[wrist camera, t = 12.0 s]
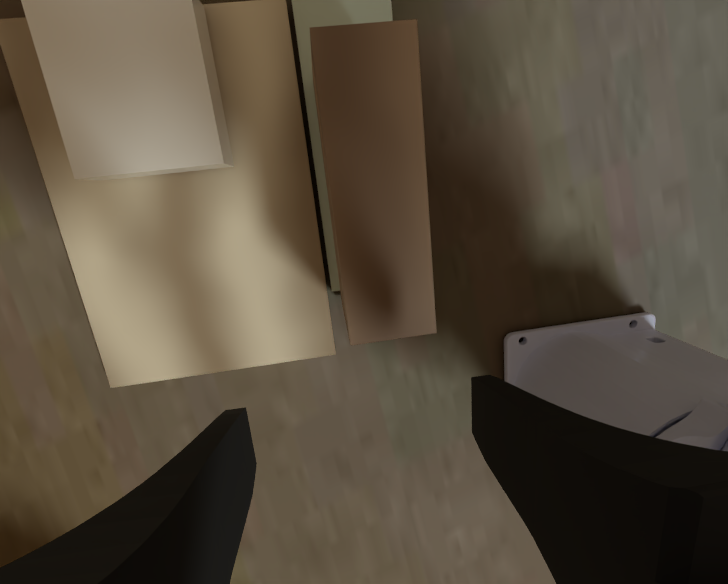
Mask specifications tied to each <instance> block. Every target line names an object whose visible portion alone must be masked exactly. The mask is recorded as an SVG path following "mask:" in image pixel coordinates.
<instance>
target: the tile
mask: <svg viewBox="0 0 728 584" xmlns="http://www.w3.org/2000/svg"><path fill="white" fill-rule="evenodd" d="M21 2H22V6H23V9H24V12H25V16H26V19H27V22H28V26H29V29H30V32H31V36H32V39H33V42H34V46H35V49H36V52H37V56H38V59H39V62H40V66H41V69H42V72H43V76H44V79H45V82H46V86H47V89H48V92H49V96H50V99H51V102H52V106H53V109H54V112H55V116H56V119H57V122H58V126H59V129H60V132H61V136H62V139H63V142H64V146H65V149H66V152H67V156H68V159H69V162H70V166H71V169H72V172H73V176H74V179H80V180H99V181H103V180H112V179H122V178H131V177H141V176H150V175H160V174H169V173H179V172H188V171H198V170H207V169H217V168H226V167H234V163H233V157H232V152H231V147H230V142H229V136H228V131H227V126H226V121H225V115H224V110H223V105H222V100H221V94H220V89H219V84H218V78H217V73H216V68H215V63H214V57H213V52H212V47H211V42H210V36H209V31H208V26H207V21H206V15H205V10H204V6H203V5H202V3H201V2H200V0H21Z"/></svg>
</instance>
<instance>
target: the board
mask: <svg viewBox="0 0 728 584" xmlns="http://www.w3.org/2000/svg"><path fill="white" fill-rule="evenodd" d="M202 5H203V6H204V10H205V15H206V21H207V26H208V31H209V36H210V42H211V47H212V52H213V57H214V63H215V68H216V73H217V78H218V84H219V89H220V94H221V100H222V105H223V110H224V115H225V121H226V126H227V131H228V136H229V142H230V147H231V152H232V157H233V163H234V167H226V168H217V169H207V170H198V171H188V172H179V173H169V174H160V175H150V176H141V177H131V178H122V179H112V180H103V181H99V180H80V179H74V176H73V172H72V169H71V166H70V162H69V159H68V156H67V152H66V149H65V146H64V142H63V139H62V136H61V132H60V129H59V126H58V122H57V119H56V116H55V112H54V109H53V106H52V102H51V99H50V96H49V92H48V89H47V86H46V82H45V79H44V76H43V72H42V69H41V66H40V62H39V59H38V56H37V52H36V49H35V46H34V42H33V39H32V36H31V32H30V29H29V26H28V22H27V19H26V17H21V18H8V19H0V45H1V48H2V51H3V54H4V58H5V61H6V64H7V67H8V70H9V73H10V76H11V79H12V82H13V86H14V89H15V92H16V95H17V98H18V101H19V104H20V107H21V110H22V113H23V117H24V120H25V123H26V126H27V129H28V132H29V135H30V138H31V141H32V145H33V148H34V151H35V154H36V157H37V160H38V163H39V166H40V169H41V172H42V176H43V179H44V182H45V185H46V188H47V191H48V194H49V197H50V200H51V204H52V207H53V210H54V213H55V216H56V219H57V222H58V225H59V228H60V231H61V235H62V238H63V241H64V244H65V247H66V250H67V253H68V256H69V259H70V263H71V266H72V269H73V272H74V275H75V278H76V281H77V284H78V287H79V290H80V294H81V297H82V300H83V303H84V306H85V309H86V312H87V315H88V318H89V322H90V325H91V328H92V331H93V334H94V337H95V340H96V343H97V346H98V349H99V353H100V356H101V359H102V362H103V365H104V368H105V371H106V374H107V377H108V381H109V384H110V387H111V388H114V387H121V386H128V385H134V384H141V383H148V382H155V381H161V380H168V379H175V378H181V377H188V376H195V375H202V374H208V373H215V372H222V371H228V370H235V369H242V368H248V367H255V366H262V365H269V364H275V363H282V362H289V361H295V360H302V359H309V358H316V357H322V356H329V355H336V351H335V343H334V336H333V329H332V322H331V315H330V308H329V301H328V294H327V287H326V280H325V273H324V265H323V258H322V251H321V244H320V237H319V230H318V223H317V216H316V209H315V202H314V195H313V188H312V180H311V173H310V166H309V159H308V152H307V145H306V138H305V131H304V124H303V117H302V110H301V103H300V95H299V88H298V81H297V74H296V67H295V60H294V53H293V46H292V39H291V32H290V25H289V18H288V10H287V4H286V0H255V1H241V2H227V3H213V4H202Z"/></svg>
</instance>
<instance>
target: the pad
mask: <svg viewBox="0 0 728 584" xmlns="http://www.w3.org/2000/svg"><path fill="white" fill-rule="evenodd" d="M292 7H293V14H294V21H295V29H296V36H297V43H298V50H299V58H300V65H301V72H302V79H303V87H304V94H305V101H306V108H307V116H308V123H309V130H310V137H311V145H312V152H313V159H314V166H315V174H316V181H317V188H318V195H319V203H320V210H321V217H322V224H323V232H324V239H325V246H326V254H327V261H328V268H329V275H330V283H331V290H332V292H333V291H340V284H339V276H338V269H337V261H336V253H335V246H334V238H333V230H332V223H331V215H330V208H329V200H328V192H327V185H326V177H325V169H324V162H323V154H322V147H321V139H320V131H319V124H318V116H317V108H316V101H315V93H314V85H313V75H312V58H311V42H310V27H323V26H335V25H348V24H361V23H373V22H386V21H393V17H392V5H391V0H292Z"/></svg>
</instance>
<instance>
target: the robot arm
mask: <svg viewBox="0 0 728 584" xmlns="http://www.w3.org/2000/svg"><path fill="white" fill-rule="evenodd" d="M631 321H632V324H631V325H629V324H630V322H631ZM655 321H656V320H655V316H654V315H652V314H650V313H648V312H643V313H637V314H630V315H623V316H617V317H610V318H603V319H597V320H590V321H583V322H577V323H570V324H563V325H557V326H550V327H543V328H537V329H530V330H523V331H517V332H511V333H509V334H507V335H506V337H505V338H504V381H503V380H501V379H499V378H497V377H494V376H491V375H485V376H478V377H471V384H472V433H473V435H474V438H475V440H476V442H477V444H478V447H479V449H480V451H481V453H482V455H483V457H484V459H485V461H486V463H487V464H488V466H489V468H490V469H491V471H492V472H493V474H494V476H495V477H496V479H497V480H498V482H499V483H500V485H501V487H502V488H503V490H504V491H505V493H506V494H507V496H508V498H509V499H510V501H511V502H512V504H513V505H514V507H515V509H516V510H517V512H518V513H519V515H520V516H521V518H522V520H523V521H524V523H525V524H526V526H527V528H528V530H529V531H530V533H531V535H532V536H533V538H534V540H535V542H536V544H537V546H538V548H539V550H540V552H541V554H542V556H543V558H544V560H545V562H546V564H547V566H548V568H549V570H550V571H551V573H552V576H553V578H554V580H555V582H556V584H728V360H727V359H725V358H722V357H720V356H717V355H715V354H712V353H710V352H708V351H705V350H703V349H700V348H698V347H695V346H693V345H691V344H688V343H686V342H683V341H681V340H678V339H676V338H674V337H671V336H669V335H666V334H664V333H661V332H659V331H657V330H655ZM521 337H524V339H523V341H522V342H520V343H519V339H520V338H521ZM255 472H256V458H255V453H254V448H253V443H252V437H251V432H250V427H249V422H248V416H247V411H246V408H239V409H231V410H225V411H224V412H223V413H222V414H221V415H220V416H218V417H217V418H216V419H215V420H214V421H213V422H212V423H211V424H210V425H209V426H208V427H207V428H206V429H205V430H204V431H202V432H201V433H200V434H199V435H198V436H197V437H196V438H195V439H194V440H193V441H192V442H191V443H190V444H188V445H187V446H186V447H185V448H184V449H183V450H182V451H181V452H180V453H178V454H177V455H176V456H175V457H174V458H172V459H171V460H170V461H169V462H168V463H167V464H165V465H164V466H163V467H162V468H161V469H160V470H158V471H157V472H156V473H155V474H153V475H152V476H151V477H150V478H148V479H147V480H146V481H144V482H143V483H142V484H141V485H139V486H138V487H136V488H135V489H134V490H132V491H131V492H129V493H128V494H127V495H125V496H124V497H122V498H121V499H120V500H118V501H117V502H115V503H114V504H112V505H110V506H109V507H107V508H106V509H104V510H103V511H101V512H99V513H98V514H96V515H95V516H93V517H92V518H90V519H88V520H87V521H85V522H84V523H82V524H80V525H79V526H77V527H76V528H74V529H72V530H70V531H69V532H67V533H65V534H63V535H62V536H60V537H58V538H56V539H55V540H53V541H51V542H49V543H47V544H46V545H44V546H42V547H40V548H38V549H36V550H34V551H32V552H31V553H29V554H27V555H25V556H23V557H21V558H19V559H17V560H15V561H13V562H11V563H9V564H7V565H5V566H3V567H1V568H0V584H230V579H231V575H232V571H233V567H234V563H235V559H236V556H237V552H238V548H239V544H240V541H241V537H242V533H243V530H244V526H245V522H246V518H247V514H248V510H249V507H250V503H251V499H252V494H253V487H254V480H255Z"/></svg>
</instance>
